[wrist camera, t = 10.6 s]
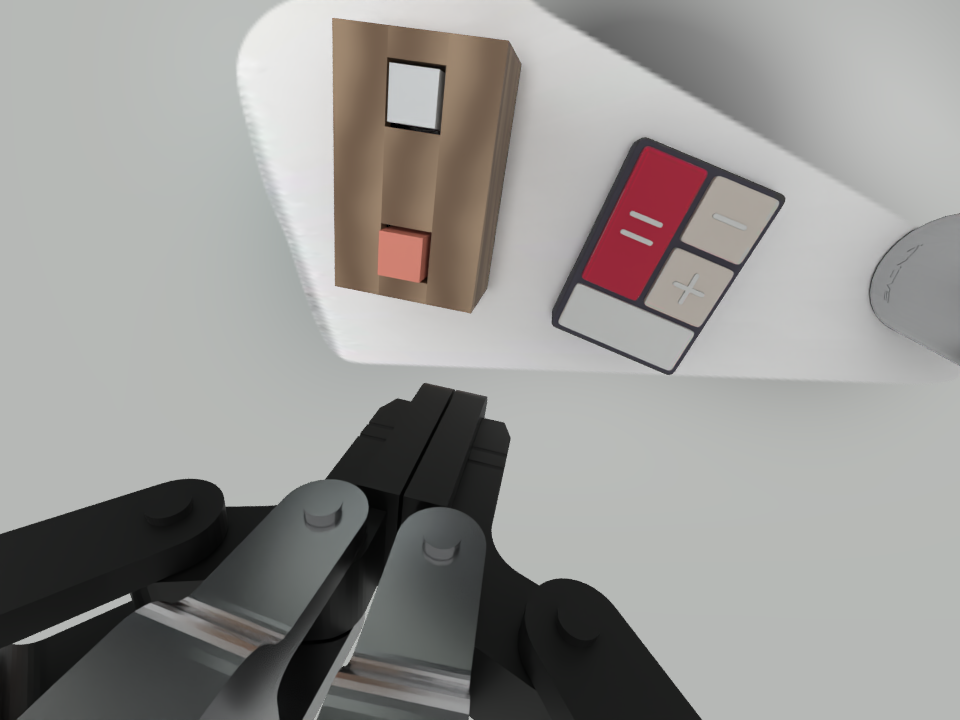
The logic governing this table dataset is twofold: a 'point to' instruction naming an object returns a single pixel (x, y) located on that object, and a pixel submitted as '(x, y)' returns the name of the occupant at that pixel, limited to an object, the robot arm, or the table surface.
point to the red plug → (404, 253)
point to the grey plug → (415, 96)
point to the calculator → (662, 254)
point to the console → (420, 159)
